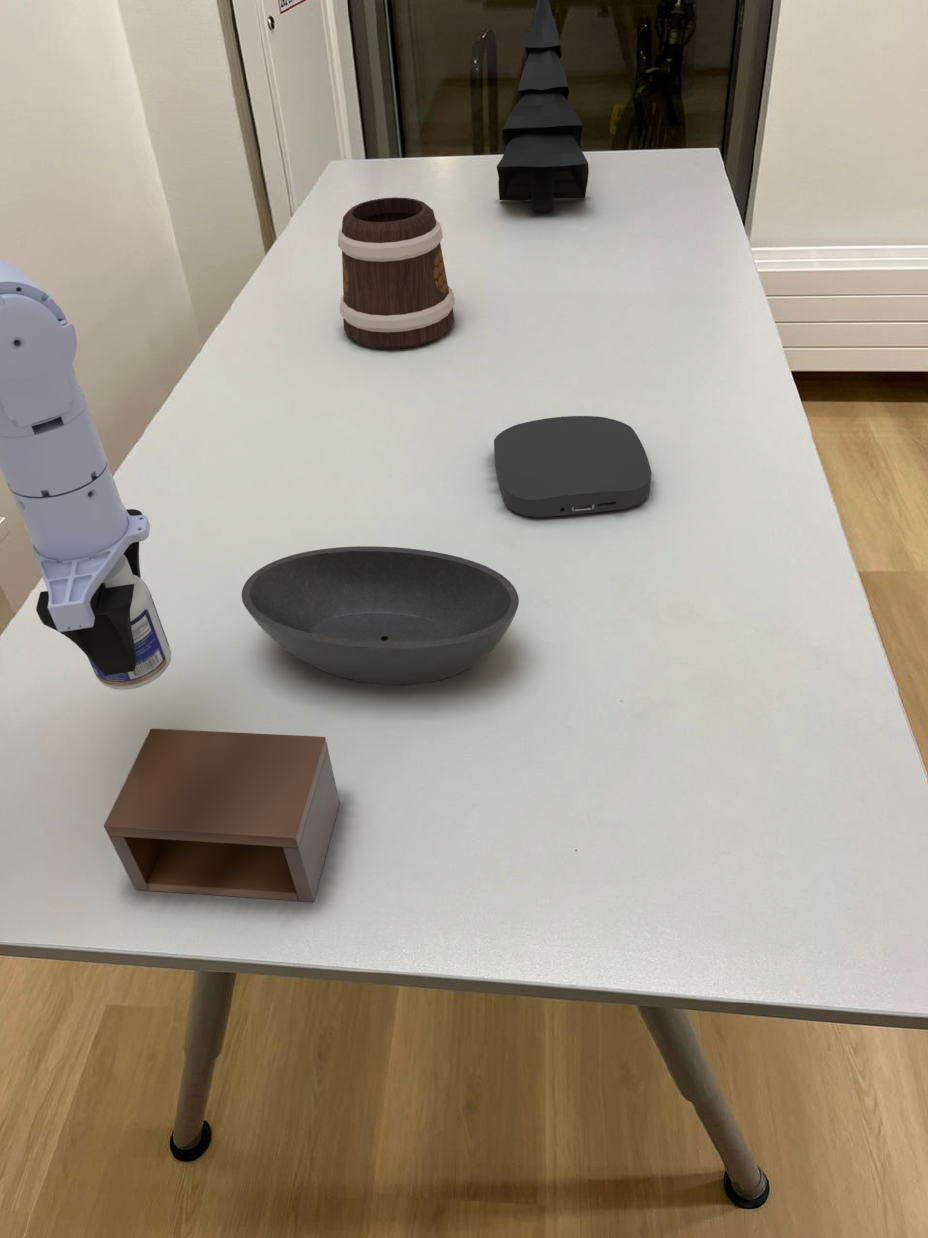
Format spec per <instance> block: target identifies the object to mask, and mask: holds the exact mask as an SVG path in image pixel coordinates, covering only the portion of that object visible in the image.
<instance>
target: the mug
mask: <svg viewBox="0 0 928 1238" xmlns="http://www.w3.org/2000/svg"><path fill="white" fill-rule="evenodd" d="M341 222H342V224H341V228H340V229H339V230H338V236H337V237H338V238H337V247H338V248H339V249H340V250H341V262H342V264H341V265H342V293H343V295H342V296H341V297H340V303H339V314H340V315H341V317H342V318H343V319H342V320H343V331H344V332H345V333H346V335H347V337H349V338H350V339H351V340H353V341H354V342H357V343H358V344H360V345H362V346H366V347H369V348H372V349H380V350H381V349H382V350H398V349H399V350H401V349H409V348H410V349H411V348H414V347H420V346H423V345H426V344H428V343H431V342H434V341H437V340H438V339H439V338H441V337H442V336H443V335H445V334H447V332H448V331H449V330H450V329H451V328H452V326H453V325H454V323H455V316H454V315H455V313H454V306H455V305H456V302H455V295H454V292H453V289H452V288H451V287H450V286H449V284H448V278H447V273H446V267H445V262H444V255H443V250H442V244H441V241H442V240H443V236H444V235H443V230H442V226H441V222H440V221H438V220H437V219H436V215H435V212H434V209H433V208H431V206H429V205H428V204H427V203H425V202H424V201H423V200H422V201H421V200H419V199H416V198H410V197H396V196H395V197H394V196H393V197H382V198H381V197H380V198H376V199H375V198H374V199H370V200H366V201H363V202H360V203H357V204H356V205H354V206H352V207H351V208H350V209H348V211H347V212H346V213H345V214H344V215H343V216H342V221H341Z"/></svg>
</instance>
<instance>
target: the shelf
mask: <svg viewBox="0 0 928 1238" xmlns="http://www.w3.org/2000/svg"><path fill="white" fill-rule="evenodd" d="M340 803H341V801H340V797H339V792H338V788H337V784H336V779H335V774H334V769H333V766H332V762H331V757H330V752H329V748H328V742H327V739H326V736H318V735H317V736H316V735H298V734H297V735H293V734H276V733H275V734H273V733H254V732H253V733H252V732H249V733H248V732H231V731H213V730H212V731H210V730H209V731H208V730H192V729H191V730H190V729H169V728H168V729H167V728H150V729H149V731H148V732H147V735H146V738H145V740H144V741H143V743H142V746H141V748H140V750H139V752H138V754H137V756H136V758H135V760H134V762H133V764H132V767H131V768H130V770H129V772H128V775H127V777H126V779H125V781H124V783H123V785H122V786H121V789H120V791H119V793H118V796H117V797H116V800H115V801H114V803H113V806H112V808H111V810H110V812H109V813H108V816H107V818H106V820H105V822H104V825H103V828H104V831H105V832H106V834H107V836H108V838H109V840H110V842H111V844H112V846H113V848H114V850H115V852H116V855H117V856H118V858H119V860H120V862H121V864H122V866H123V868H124V870H125V872H126V874H127V876H128V878H129V881H130V882H131V884H132V886H133V889H134V890H136V891H147V892H149V891H151V892H166V893H181V894H195V895H208V896H209V895H210V896H222V897H223V896H225V897H238V898H253V899H265V900H266V899H267V900H282V901H283V900H284V901H294V902H295V901H296V902H298V901H299V902H308V903H309V902H311V903H314V901H315V899H316V895H317V891H318V888H319V883H320V879H321V877H322V872H323V869H324V868H323V867H324V865H325V860H326V856H327V853H328V850H329V849H328V848H329V845H330V841H331V838H332V834H333V830H334V826H335V823H336V819H337V815H338V811H339V807H340Z"/></svg>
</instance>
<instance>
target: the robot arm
mask: <svg viewBox="0 0 928 1238" xmlns="http://www.w3.org/2000/svg"><path fill="white" fill-rule="evenodd" d="M76 332H77V331H76V327H75V325H74V324H73V323H69V322H68V321H67V318H66V315H65V313H64V312H63V311H62V309H61V307H60V306H59V305H58V303H57V302H56V301H55V300H54V299H53V298H52V297H51V296H50V295H49V294H47V292H45V291H44V290H43V289H42V288H41V287H40V286H39V285H38V283H36V282H35V281H34V280H33V279H32V278H30V276H28V275H27V274H26V273H25V272H24V271H23V270H22V269H20V268H19V267H18V266H16V265H13V264H12V263H10V262H9V261H6V260H4V259H1V258H0V471H1V473H2V475H3V477H4V480H5V482H6V484H7V487H8V489H9V491H10V494H11V496H12V498H13V500H14V503H15V505H16V508H17V510H18V512H19V514H20V517H21V519H22V521H23V523H24V526H25V529H26V530H27V533H28V535H29V537H30V540H31V541H30V547H31V551H32V554H33V556H34V558H35V562H36V563H37V566H38V569H39V571H40V574H41V576H42V580H43V582H44V583H45V587H46V589H47V590H44V591H40V592H39V595H38V600H37V603H36V607H35V610H36V613H37V615H38V617H39V620H40V622H41V623H42V624H43V625H44V626H45V627H48V628H50V629H52V630H55V631H56V632H58V633H60V634H62V635H63V636H64V637H66V638H68V639H69V640H70V641H71V642H73V643H74V644H75V645H76V646H77V647H78V648H79V649H80V650H81V651H82V653H84V654H85V655H86V657H87V656H88V657H89V659H90V660H91V661H92V662H93V663H94V664H95V665H96V667H97V668H98V669H99V670H100V671H101V672H102V673H103V674H104V675H106V676H107V675H113V674H119V673H126V672H132V671H134V670H135V666H136V651H135V645H134V640H133V635H132V630H131V622H130V607H131V603H132V599H133V592H134V585H135V584H129V585H123V586H116V587H109V588H106V586H105V583H102V582H103V581H104V579H105V578H106V576H107V575H108V574H109V572H110V571H111V570H112V568H113V567H114V566H115V564H116V563H117V561H118V560H119V559H120V557H121V556H122V555H123V554H124V555H125V556H126V558H127V561H128V563H129V565H130V568H131V571H132V574H133V575H136V576H138V577H139V578H141V579H142V577H141V568H140V566H141V565H140V542H143V541H146V540H147V539H148V538H149V536H150V530H151V524H150V521H149V518H148V516H147V515H145V514H143V513H142V511H140V509H139V510H138V509H136V508H135V509H134V508H127V509H126V506H125V505H124V503H123V501H122V499H121V496H120V493H119V490H118V487H117V484H116V482H115V481H116V480H115V478H114V476H113V473H112V470H111V467H110V465H109V462H108V458H107V455H106V453H105V450H104V447H103V443H102V440H101V438H100V435H99V432H98V429H97V427H96V424H95V421H94V417H93V414H92V412H91V408H90V406H89V404H88V401H87V400H88V399H87V397H86V394H85V391H84V390H83V388H82V387H81V385H79V382H78V380H77V377H76V373H75V368H74V365H73V363H74V361H75V358H76V353H77V347H78V346H77V345H78V343H77V342H78V341H77V334H76ZM88 657H87V658H88ZM89 659H88V660H89Z"/></svg>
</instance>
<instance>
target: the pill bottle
mask: <svg viewBox="0 0 928 1238" xmlns="http://www.w3.org/2000/svg"><path fill="white" fill-rule="evenodd" d="M102 583H105V586H106V588H109V587H116V586H123V585H129V584H135V585H134V592H133V599H132V603H131V607H130V622H131V630H132V635H133V640H134V645H135V651H136V666H135V670H134V671H132V672H126V673H119V674H113V675H107V676H106V675H104V674H103V673H102V672H101V671H100V670H99V669H98V668H97V667H96V665H95V664H94V663H93V662H92V661H91V660H90V659H89V657H88V656H87V655H86V657H87V659H88V661H89V663H90V665H91V668H92V671H93V673H94V674H95V675H94V676H95V677H96V679H97V680H98V681H99V683H101V685H104V686H105V687H107V688H109V689H112V690H117V691H118V690H119V691H129V690H135V689H138V688H139V689H140V688H143V687H144V686H147V685H149V684H151V683H152V682H154V681H156V680H158V679H159V678H160V677H161V676H162V675H163V674H164V673H165V672H166V670H167V669H168V667H169V665H170V663H171V660H172V651H171V650H172V649H171V647H170V644H169V641H168V637H167V636H166V633H165V630H164V627H163V624H162V620H161V619H160V615H159V613H158V610H157V608H156V605H155V602H154V599H153V597H152V594H151V591H150V589H149V586H148V585H147V583H146V582H145V580H143V579H142V577H141V578H139V577H138V576H136V575H133V574H132V571H131V568H130V565H129V563H128V561H127V558H126V556H125V555H124V554H123V555H122V556H121V557H120V559H119V560H118V561H117V563H116V564H115V566H114V567H113V568H112V570H111V571H110V572H109V574H108V575H107V576H106V578H105V579H104V581H103V582H102Z"/></svg>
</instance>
